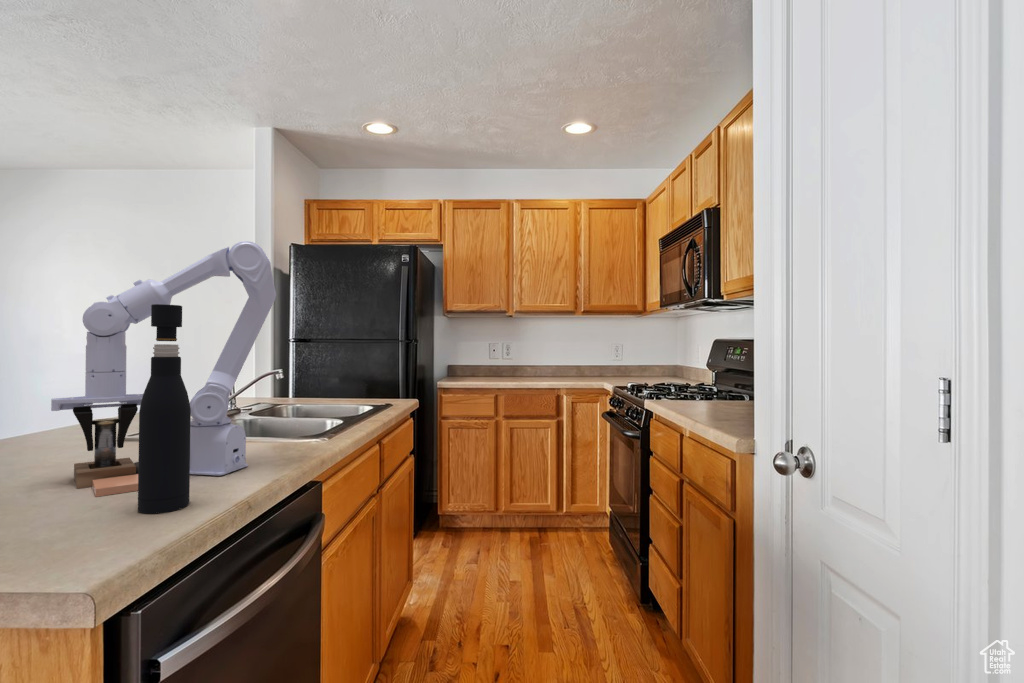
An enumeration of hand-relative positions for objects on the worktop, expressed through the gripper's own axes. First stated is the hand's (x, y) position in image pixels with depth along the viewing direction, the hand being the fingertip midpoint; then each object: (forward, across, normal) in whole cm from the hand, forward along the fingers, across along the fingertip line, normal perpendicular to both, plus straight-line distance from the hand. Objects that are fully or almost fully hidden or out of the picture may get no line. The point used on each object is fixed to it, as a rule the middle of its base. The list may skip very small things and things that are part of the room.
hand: (105, 448), depth 93 cm
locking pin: (+3, 0, 0) cm, 3 cm away
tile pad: (+5, -1, +8) cm, 10 cm away
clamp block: (+5, -1, 0) cm, 5 cm away
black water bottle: (+6, -5, +24) cm, 26 cm away
